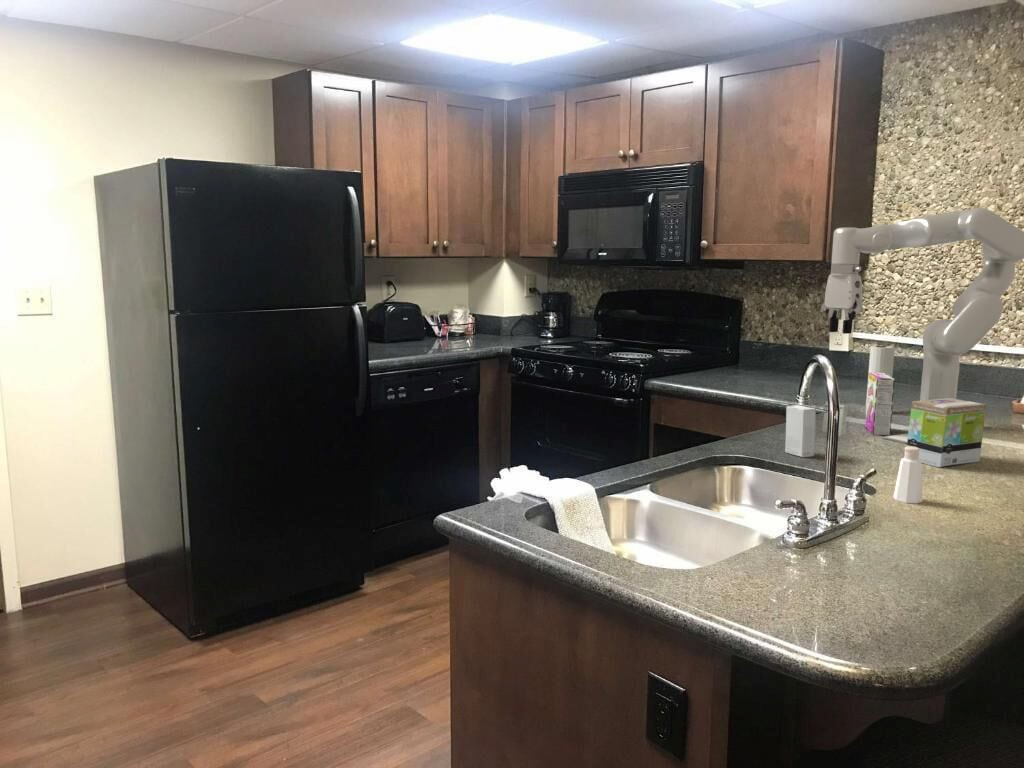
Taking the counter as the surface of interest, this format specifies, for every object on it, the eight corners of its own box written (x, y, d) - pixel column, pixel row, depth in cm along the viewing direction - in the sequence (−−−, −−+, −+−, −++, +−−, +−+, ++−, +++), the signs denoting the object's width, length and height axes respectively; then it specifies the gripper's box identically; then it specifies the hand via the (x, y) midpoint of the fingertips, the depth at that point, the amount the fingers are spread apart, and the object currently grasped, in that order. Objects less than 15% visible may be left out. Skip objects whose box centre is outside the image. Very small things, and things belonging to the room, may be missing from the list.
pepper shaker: (920, 505, 164) (925, 451, 162) (891, 500, 167) (895, 448, 165) (923, 498, 169) (928, 446, 167) (894, 494, 171) (899, 443, 170)
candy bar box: (863, 427, 240) (867, 372, 237) (881, 428, 239) (886, 372, 236) (871, 435, 229) (876, 377, 226) (891, 436, 228) (896, 378, 225)
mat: (911, 434, 231) (912, 432, 231) (966, 445, 218) (966, 443, 218) (881, 438, 225) (882, 436, 225) (936, 450, 211) (936, 448, 211)
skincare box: (814, 456, 204) (818, 408, 202) (801, 458, 202) (804, 409, 200) (796, 450, 209) (799, 404, 208) (783, 452, 208) (786, 405, 206)
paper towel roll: (865, 412, 263) (870, 346, 259) (865, 409, 268) (870, 344, 265) (890, 414, 260) (895, 347, 257) (889, 411, 266) (894, 346, 262)
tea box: (941, 468, 193) (947, 407, 191) (904, 459, 202) (909, 400, 200) (981, 462, 200) (987, 402, 198) (943, 453, 209) (949, 396, 207)
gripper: (878, 271, 234) (872, 334, 237) (829, 269, 249) (825, 329, 252) (860, 271, 231) (855, 335, 234) (812, 269, 245) (808, 330, 248)
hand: (840, 332), depth 243 cm, fingers open, 4 cm apart
